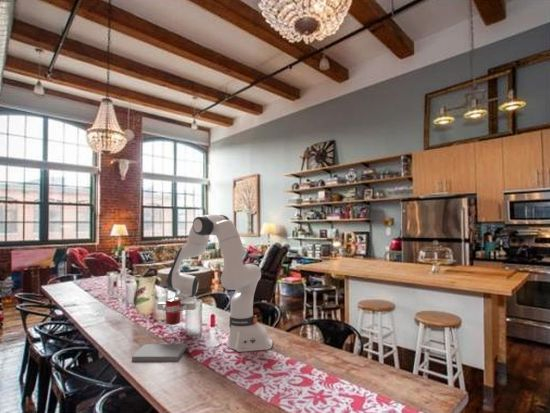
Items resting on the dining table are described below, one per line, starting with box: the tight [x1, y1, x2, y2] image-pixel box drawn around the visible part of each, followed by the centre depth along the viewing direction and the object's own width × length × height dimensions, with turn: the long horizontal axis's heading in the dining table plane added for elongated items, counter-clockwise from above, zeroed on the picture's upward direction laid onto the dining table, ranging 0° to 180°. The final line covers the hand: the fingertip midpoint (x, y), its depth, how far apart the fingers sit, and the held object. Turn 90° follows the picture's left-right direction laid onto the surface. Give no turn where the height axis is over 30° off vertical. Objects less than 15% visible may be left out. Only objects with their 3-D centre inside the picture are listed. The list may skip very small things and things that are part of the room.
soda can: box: [165, 297, 182, 326], centre depth 164 cm, size 7×7×12 cm
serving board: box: [131, 343, 187, 362], centre depth 148 cm, size 20×14×2 cm
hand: (172, 309), depth 163 cm, fingers closed on soda can, 7 cm apart
